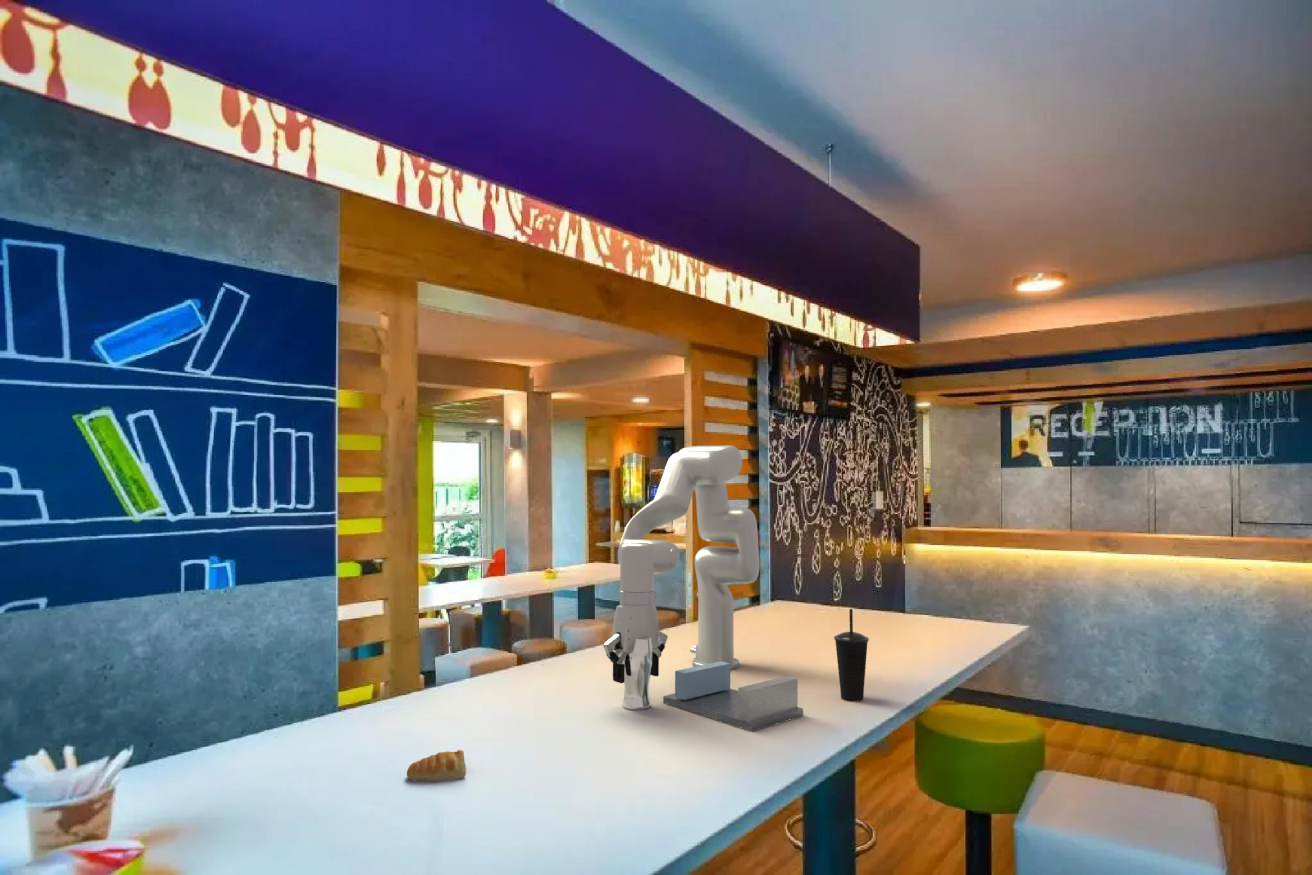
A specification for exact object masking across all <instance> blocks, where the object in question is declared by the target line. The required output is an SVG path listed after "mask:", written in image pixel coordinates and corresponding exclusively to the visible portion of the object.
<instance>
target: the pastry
mask: <svg viewBox="0 0 1312 875" xmlns="http://www.w3.org/2000/svg"><path fill="white" fill-rule="evenodd" d="M464 753H465V752H464V750H461V749H458V750H457V751H440V752H438V753H435V754H431V755H429V756H427V757H423V758H421V759H420V760H417V761H415V762H412V763H411V764H410V765H409V766H408V768H407V770H406V777H407V778H408V779H410V780H411V781H413V782H416V783H417V782H424V783H425V782H426V783H427V782H428V783H429V782H430V783H436V782H449V781H457V780H461V779H464V778H465V776H466V774H467V767H466V762H465V754H464Z"/></svg>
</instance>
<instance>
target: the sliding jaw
mask: <svg viewBox="0 0 1312 875" xmlns="http://www.w3.org/2000/svg"><path fill="white" fill-rule="evenodd" d="M674 686H675V687H674V693H675V697H677V698H680V699H683V700H686V699H690V698H694V697H698V696H702V695H706V694H710V693H714V692H718V691H723V690H727V689H731V669H730V663H726V662H722V661H720V662H715V663H710V664H706V665H701V666H696V667H695V666H692V667H688V668H683V669H682V668H681V669H679V670H678V669H677V670H675V672H674Z"/></svg>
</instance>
